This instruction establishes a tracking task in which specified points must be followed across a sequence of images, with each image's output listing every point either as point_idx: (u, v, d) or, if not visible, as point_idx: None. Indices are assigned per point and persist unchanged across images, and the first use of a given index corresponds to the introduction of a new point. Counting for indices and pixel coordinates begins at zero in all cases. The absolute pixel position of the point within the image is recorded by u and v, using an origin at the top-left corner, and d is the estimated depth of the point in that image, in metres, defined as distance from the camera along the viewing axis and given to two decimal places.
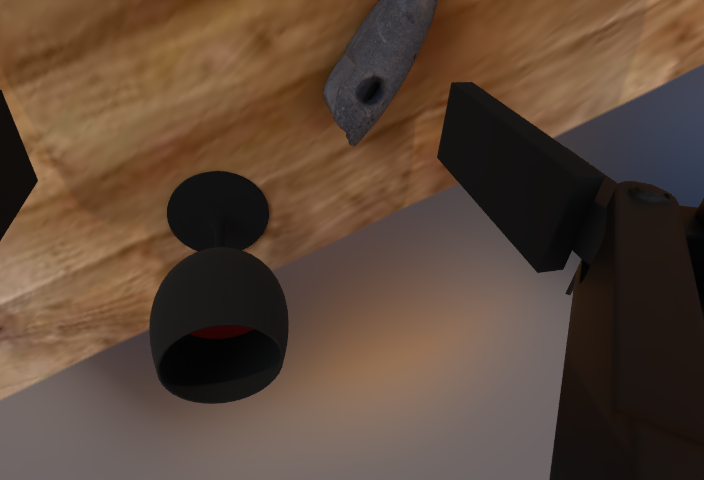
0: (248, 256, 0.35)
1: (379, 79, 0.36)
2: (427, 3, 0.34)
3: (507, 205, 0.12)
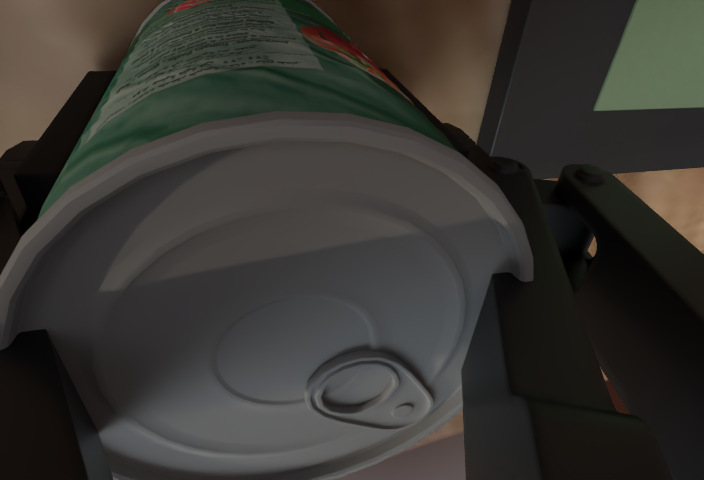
0: None
1: None
2: None
3: None
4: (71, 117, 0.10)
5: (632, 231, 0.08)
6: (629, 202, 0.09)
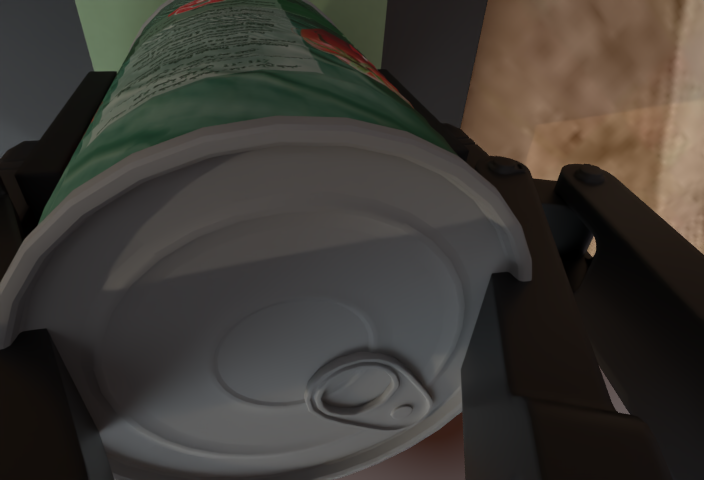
0: None
1: None
2: None
3: None
4: (72, 117, 0.11)
5: (631, 231, 0.08)
6: (628, 202, 0.09)
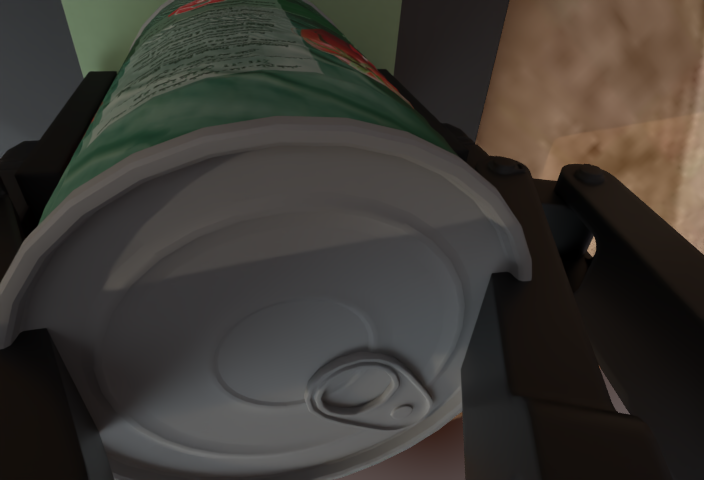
0: None
1: None
2: None
3: None
4: (72, 117, 0.11)
5: (632, 231, 0.08)
6: (629, 202, 0.09)
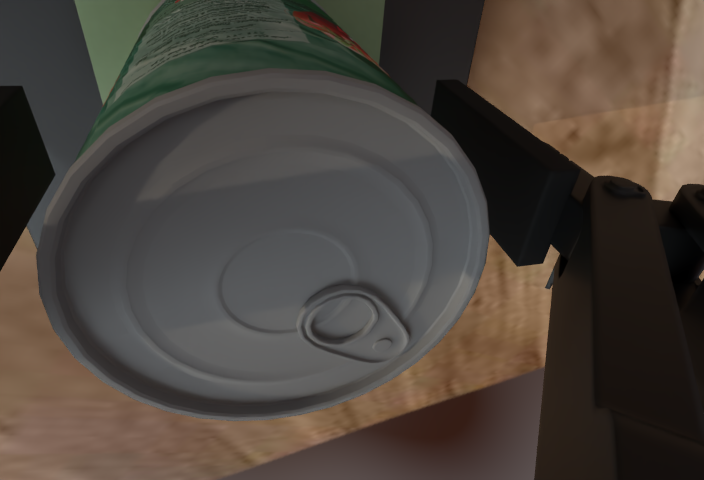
0: None
1: None
2: None
3: (489, 200, 0.12)
4: None
5: None
6: None
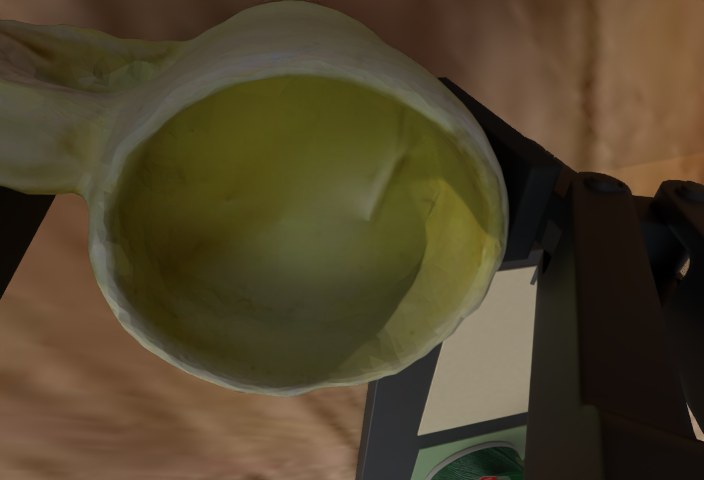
0: None
1: None
2: None
3: None
4: None
5: None
6: None
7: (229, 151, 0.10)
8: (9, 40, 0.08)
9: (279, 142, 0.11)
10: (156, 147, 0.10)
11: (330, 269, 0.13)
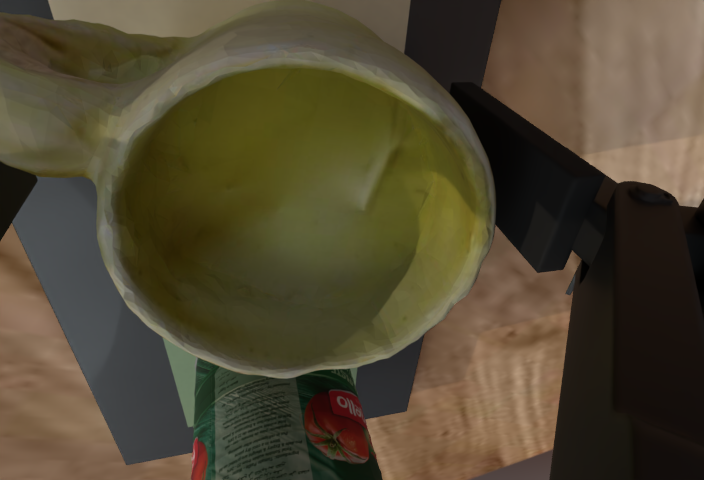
0: None
1: None
2: None
3: (507, 205, 0.12)
4: None
5: None
6: None
7: (230, 140, 0.11)
8: (25, 33, 0.09)
9: (278, 133, 0.11)
10: (161, 135, 0.10)
11: (327, 257, 0.14)
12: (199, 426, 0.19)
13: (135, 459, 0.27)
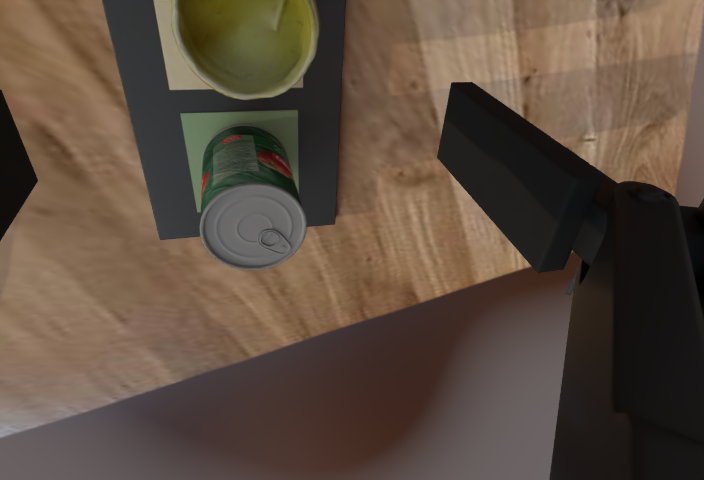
0: None
1: None
2: None
3: (508, 205, 0.12)
4: None
5: None
6: None
7: None
8: None
9: None
10: None
11: (262, 56, 0.32)
12: (204, 170, 0.37)
13: (165, 235, 0.44)
